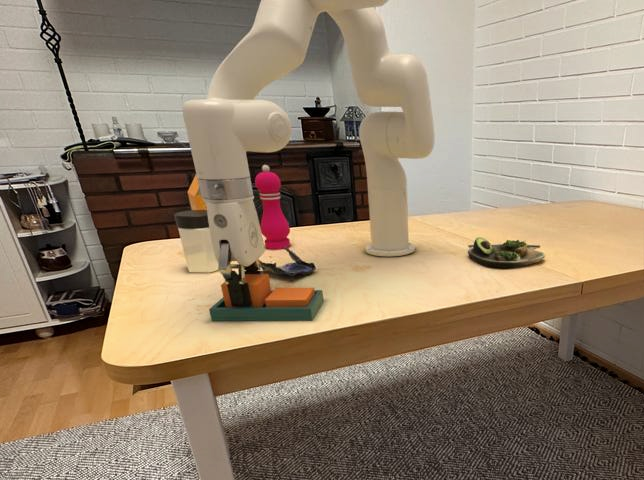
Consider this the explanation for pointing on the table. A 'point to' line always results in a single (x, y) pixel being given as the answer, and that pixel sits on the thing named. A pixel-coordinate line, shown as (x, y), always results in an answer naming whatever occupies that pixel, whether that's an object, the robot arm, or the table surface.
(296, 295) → the fitted pad
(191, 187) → the orange juice
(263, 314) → the tray
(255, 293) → the orange block
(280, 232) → the pepper mill
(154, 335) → the table surface
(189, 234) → the jar
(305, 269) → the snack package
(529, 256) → the salad plate
